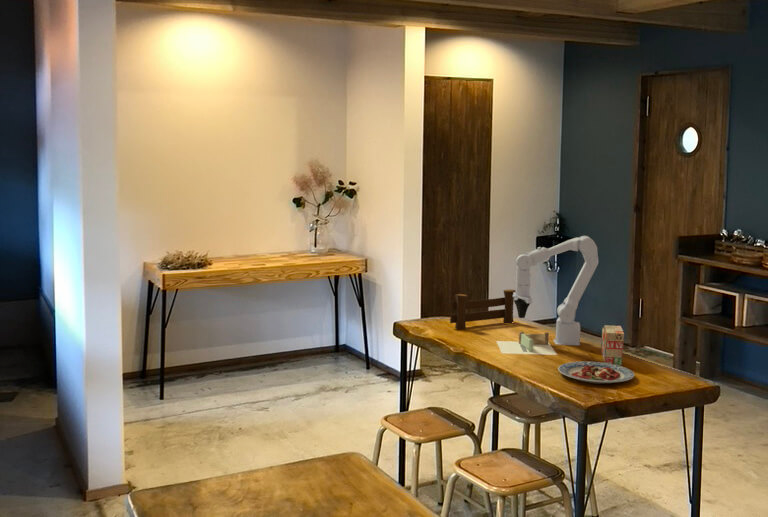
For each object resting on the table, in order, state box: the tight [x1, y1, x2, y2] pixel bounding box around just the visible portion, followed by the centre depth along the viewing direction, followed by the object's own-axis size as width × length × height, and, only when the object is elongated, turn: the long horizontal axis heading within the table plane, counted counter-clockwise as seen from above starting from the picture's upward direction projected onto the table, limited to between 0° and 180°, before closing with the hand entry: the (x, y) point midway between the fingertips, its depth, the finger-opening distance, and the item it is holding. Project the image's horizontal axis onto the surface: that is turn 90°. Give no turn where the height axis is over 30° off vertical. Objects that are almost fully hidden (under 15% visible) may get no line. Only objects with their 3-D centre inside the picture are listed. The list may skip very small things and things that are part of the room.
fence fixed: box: [518, 331, 550, 345], centre depth 342 cm, size 12×2×5 cm, turn 89°
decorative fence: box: [449, 289, 516, 331], centre depth 375 cm, size 34×6×15 cm, turn 121°
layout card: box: [495, 340, 558, 356], centre depth 336 cm, size 21×20×1 cm
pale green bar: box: [521, 333, 533, 351], centre depth 335 cm, size 12×2×5 cm, turn 8°
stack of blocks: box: [600, 324, 625, 366], centre depth 324 cm, size 21×6×12 cm, turn 170°
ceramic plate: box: [557, 361, 635, 385], centre depth 299 cm, size 26×26×3 cm
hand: (521, 317), depth 347 cm, fingers closed
